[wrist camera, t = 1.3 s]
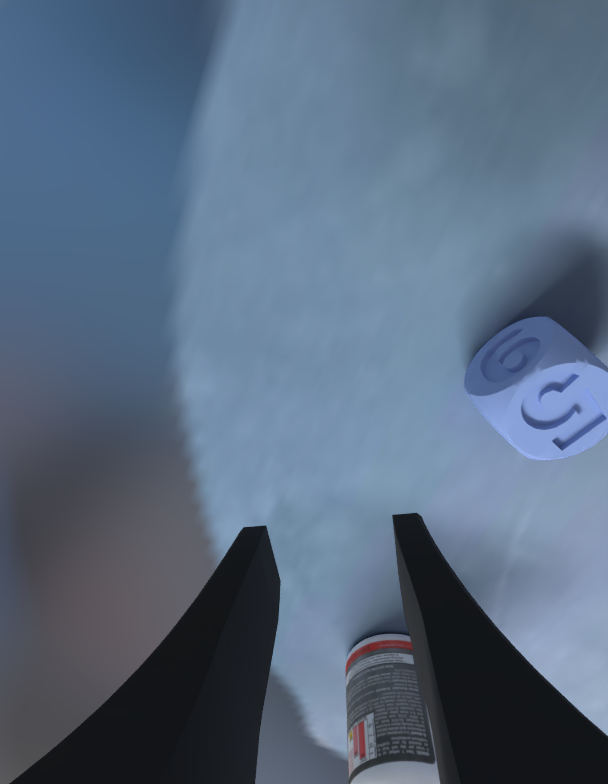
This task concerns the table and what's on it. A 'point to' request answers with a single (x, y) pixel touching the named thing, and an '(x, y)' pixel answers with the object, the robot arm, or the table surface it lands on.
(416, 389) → the table surface
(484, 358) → the decorative dice
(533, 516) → the table surface
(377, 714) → the pill bottle
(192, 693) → the robot arm
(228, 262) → the table surface
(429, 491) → the table surface
